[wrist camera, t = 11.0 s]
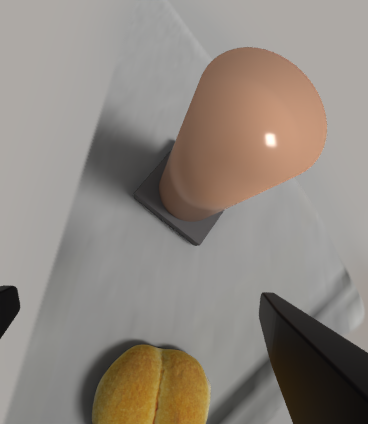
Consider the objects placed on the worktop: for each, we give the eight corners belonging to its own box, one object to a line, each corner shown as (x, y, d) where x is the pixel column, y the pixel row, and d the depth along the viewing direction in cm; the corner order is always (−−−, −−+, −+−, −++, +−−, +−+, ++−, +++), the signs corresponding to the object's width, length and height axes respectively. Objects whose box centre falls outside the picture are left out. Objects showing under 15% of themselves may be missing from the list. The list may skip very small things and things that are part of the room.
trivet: (195, 245, 22) (199, 245, 21) (133, 197, 22) (133, 193, 20) (235, 188, 24) (241, 184, 23) (180, 143, 24) (183, 136, 22)
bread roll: (110, 335, 20) (105, 354, 16) (208, 350, 21) (226, 371, 17) (79, 451, 18) (66, 505, 14) (190, 458, 19) (205, 508, 15)
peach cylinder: (205, 233, 21) (303, 206, 9) (147, 202, 20) (170, 129, 8) (230, 178, 23) (341, 95, 11) (176, 148, 22) (231, 22, 10)
